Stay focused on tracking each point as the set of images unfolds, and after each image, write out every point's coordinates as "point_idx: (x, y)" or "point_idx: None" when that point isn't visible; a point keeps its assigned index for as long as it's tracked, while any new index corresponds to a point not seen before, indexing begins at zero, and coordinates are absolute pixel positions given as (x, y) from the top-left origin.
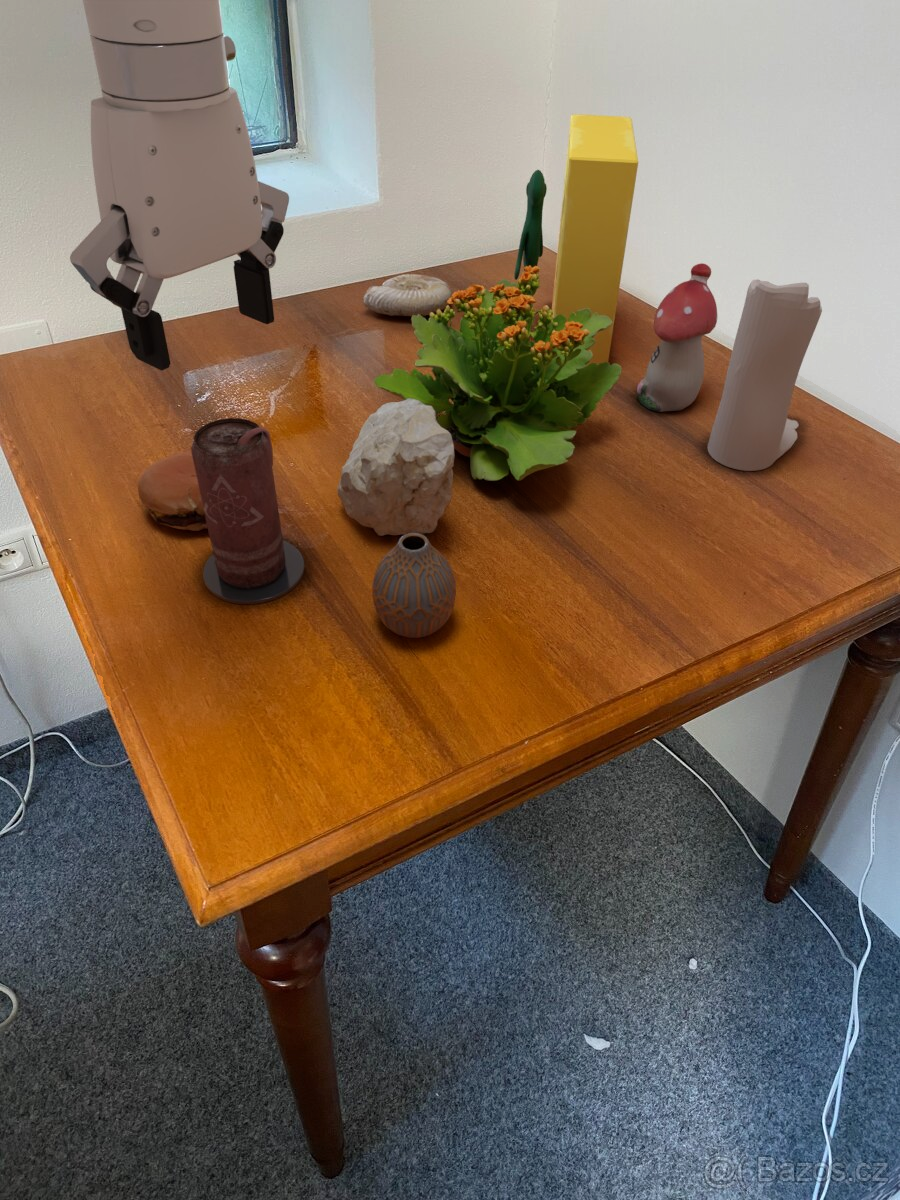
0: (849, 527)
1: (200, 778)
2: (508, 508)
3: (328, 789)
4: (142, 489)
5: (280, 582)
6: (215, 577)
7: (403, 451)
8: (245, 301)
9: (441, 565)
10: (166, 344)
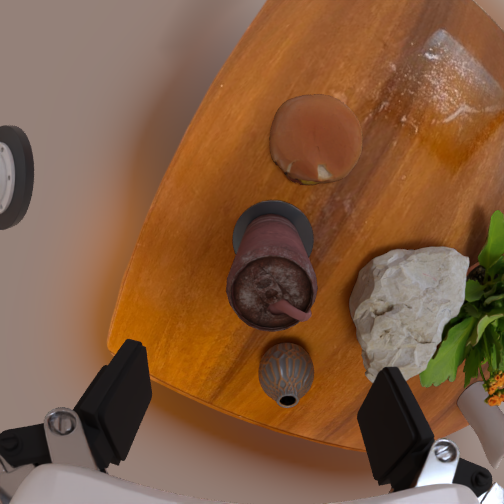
0: None
1: (130, 318)
2: None
3: (165, 367)
4: (279, 113)
5: None
6: (247, 222)
7: (373, 369)
8: (382, 402)
9: (291, 401)
10: (140, 422)
